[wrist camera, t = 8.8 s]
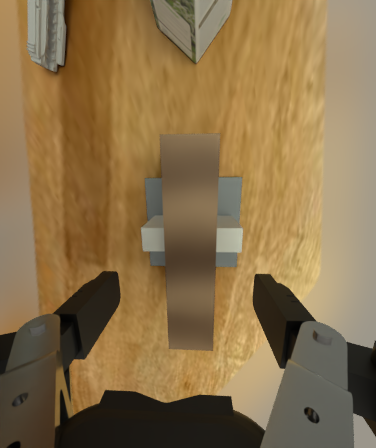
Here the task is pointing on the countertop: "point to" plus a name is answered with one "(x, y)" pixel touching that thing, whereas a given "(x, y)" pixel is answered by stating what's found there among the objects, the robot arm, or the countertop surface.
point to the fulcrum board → (223, 208)
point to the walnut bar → (190, 236)
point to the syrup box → (191, 22)
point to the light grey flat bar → (46, 32)
